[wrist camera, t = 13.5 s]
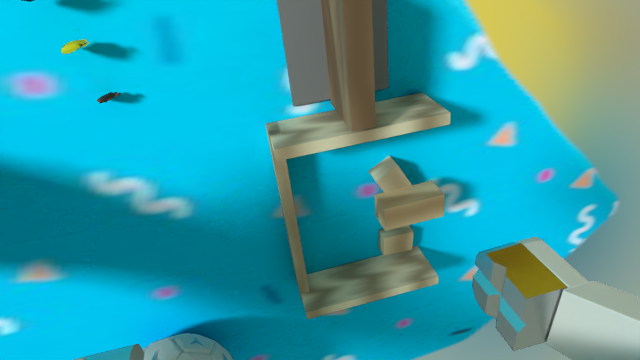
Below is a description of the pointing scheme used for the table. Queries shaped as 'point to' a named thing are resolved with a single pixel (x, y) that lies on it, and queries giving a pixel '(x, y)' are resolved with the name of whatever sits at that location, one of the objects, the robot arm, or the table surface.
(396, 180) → the offcut
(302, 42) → the mat
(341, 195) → the table surface
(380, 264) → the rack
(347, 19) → the walnut board
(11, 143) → the table surface
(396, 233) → the offcut
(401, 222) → the offcut
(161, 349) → the puzzle ball
